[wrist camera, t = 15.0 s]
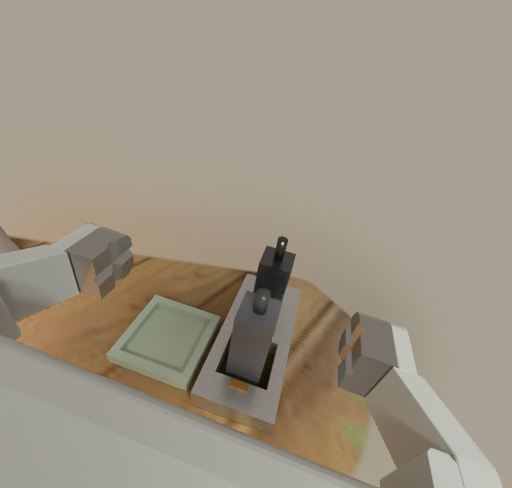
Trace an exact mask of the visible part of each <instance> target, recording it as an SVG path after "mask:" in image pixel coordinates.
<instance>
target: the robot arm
mask: <svg viewBox="0 0 512 488" xmlns="http://www.w3.org/2000/svg"><path fill="white" fill-rule="evenodd" d="M131 246H132V242H131V238H130V237H129V236H127V235H124V234H122V233H119V232H116V231H113V230H110V229H108V228H105V227H101V226H99V225H96V224H93V223H86V224H85V225H83V226H81V227H80V228H78V229H76V230H74V231H73V232H71V233H70V234H68V235H66V236H65V237H63V238H61V239H60V240H58V241H57V242H55V243H53V244H52V245H50V246H48V245H41V246H36V247H32V248H27V249H22V250H21V249H20V248H19V247H18V246H17V245H16V244H15V243H14V242H13V241H12V240H11V239H10V238H9V237H8V236H7V234H6V233H5V232H4V231H3V229H2V228H1V227H0V488H377V487H375V486H372V485H370V484H368V483H365V482H363V481H360V480H358V479H355V478H353V477H351V476H348V475H346V474H343V473H341V472H338V471H336V470H333V469H331V468H328V467H326V466H323V465H321V464H318V463H316V462H314V461H311V460H309V459H306V458H304V457H301V456H299V455H296V454H294V453H291V452H289V451H286V450H284V449H282V448H279V447H277V446H274V445H272V444H269V443H267V442H264V441H262V440H259V439H257V438H254V437H252V436H249V435H247V434H245V433H242V432H240V431H237V430H235V429H232V428H230V427H227V426H225V425H222V424H220V423H217V422H215V421H213V420H210V419H208V418H205V417H203V416H200V415H198V414H195V413H193V412H190V411H188V410H185V409H183V408H180V407H178V406H176V405H173V404H171V403H168V402H166V401H163V400H161V399H158V398H156V397H153V396H151V395H148V394H146V393H144V392H141V391H139V390H136V389H134V388H131V387H129V386H126V385H124V384H121V383H119V382H116V381H114V380H111V379H109V378H107V377H104V376H102V375H99V374H97V373H94V372H92V371H89V370H87V369H84V368H82V367H79V366H77V365H74V364H72V363H70V362H67V361H65V360H62V359H60V358H57V357H55V356H52V355H50V354H47V353H45V352H42V351H40V350H37V349H35V348H33V347H30V346H28V345H25V344H23V343H20V342H18V341H15V340H16V339H17V338H18V337H19V336H20V333H21V331H20V329H19V328H18V326H17V324H16V322H15V321H18V320H20V319H22V318H24V317H27V316H29V315H31V314H34V313H36V312H38V311H41V310H43V309H45V308H48V307H50V306H52V305H55V304H57V303H59V302H61V301H64V300H66V299H68V298H71V297H73V296H75V295H78V294H79V292H80V293H83V294H86V295H89V296H92V297H95V298H98V299H101V300H102V299H103V298H104V297H105V296H106V295H107V294H108V293H109V292H110V291H111V290H112V289H113V288H114V287H115V281H118V280H121V279H124V278H125V277H126V276H127V275H128V274H129V272H130V270H131V268H132V266H133V261H134V259H133V254H132V253H131V251H130V250H129V248H130V247H131ZM339 357H340V358H341V360H342V362H341V364H340V365H339V367H338V387H340V388H342V389H345V390H347V391H350V392H352V393H355V394H357V395H360V396H362V397H365V398H364V400H365V402H366V404H367V406H368V408H369V410H370V412H371V414H372V416H373V419H374V421H375V423H376V425H377V427H378V429H379V431H380V433H381V435H382V438H383V440H384V442H385V444H386V446H387V448H388V450H389V452H390V454H391V457H392V459H393V461H394V463H395V465H396V467H397V469H396V470H394V471H393V472H391V473H390V474H388V475H387V476H385V477H383V478H382V479H381V480H380V488H503V487H502V484H501V482H500V479H499V476H498V473H497V471H496V470H495V468H494V467H493V466H492V464H491V463H490V462H489V461H488V459H487V458H486V457H485V456H484V454H483V453H482V452H481V450H480V449H479V448H478V447H477V445H476V444H475V443H474V442H473V440H472V439H471V438H470V437H469V435H468V434H467V433H466V431H465V430H464V429H463V428H462V426H461V425H460V424H459V423H458V421H457V420H456V419H455V417H454V416H453V415H452V414H451V412H450V411H449V410H448V408H447V407H446V406H445V405H444V404H443V402H442V401H441V399H440V398H439V397H438V396H437V394H436V393H435V392H434V391H433V389H432V388H431V387H430V385H429V384H428V383H427V382H426V380H425V379H424V378H423V377H421V376H418V373H417V369H416V365H415V361H414V356H413V352H412V348H411V344H410V339H409V335H408V331H407V329H406V328H405V327H402V326H399V325H396V324H393V323H390V322H386V321H383V320H380V319H377V318H374V317H371V316H368V315H365V314H362V313H359V312H356V313H355V314H354V315H353V317H352V319H351V326H349V327H346V328H345V330H344V332H343V334H342V336H341V339H340V344H339Z"/></svg>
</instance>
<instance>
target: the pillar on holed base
mask: <svg viewBox="0 0 512 488" xmlns="http://www.w3.org/2000/svg"><path fill="white" fill-rule="evenodd" d="M287 243H288V239H287V238H285V237H279V238H278V242H277V246H276V248H273V247H269V246H267V247H266V249H265V251H264V254H263V256H262V258H261V260H260V263H259V267H258V271H257V276H254V275H251V274H247V275H246V277H245V279H244V281H243V283H242V286H241V288H240V290H239V292H238V294H237V296H236V298H235V300H234V302H233V304H232V307H231V309H230V311H229V313H228V315H227V317H226V319H225V321H224V323H223V325H222V328H221V330H220V332H219V334H218V336H217V338H216V340H215V342H214V344H213V346H212V349H211V351H210V353H209V355H208V357H207V359H206V361H205V363H204V365H203V367H202V370H201V372H200V374H199V376H198V378H197V380H196V382H195V384H194V386H193V388H192V391H191V393H190V404H191V405H194V406H197V407H199V408H202V409H204V410H207V411H209V412H212V413H215V414H217V415H220V416H222V417H225V418H227V419H230V420H233V421H235V422H238V423H240V424H243V425H246V426H248V427H251V428H253V429H256V430H258V431H261V432H264V433H266V434H269V435H270V433H271V431H272V429H273V426H274V424H275V419H276V414H277V409H278V404H279V399H280V394H281V389H282V384H283V379H284V374H285V369H286V364H287V359H288V354H289V349H290V344H291V339H292V334H293V329H294V324H295V319H296V314H297V309H298V304H299V299H300V294H301V290H299V289H296V288H293V287H290V286H287V284H288V280H289V277H290V274H291V270H292V267H293V262H294V259H295V255H296V254H293V253H290V252H286V251H285V250H286V246H287ZM259 288H266V289H268V290H269V291H270V292H271V296H270V298H272V299H275V300H279V301H282V306H281V309H280V313H279V317H278V321H277V324H276V328H275V332H274V335H273V338H272V342H271V345H270V348H269V351H268V354H271V355H274V359H273V363H272V367H271V371H270V375H269V379H268V383H267V387H266V390H265V389H262V388H259V387H257V386H254V385H251V384H248V383H246V382H243V381H240V380H238V379H235V378H232V377H229V376H227V375H224V374H221V373H218V372H219V369H220V367H221V364H222V362H223V360H224V357H225V355H226V352H227V350H228V348H229V345H230V342H231V336H232V330H233V324H234V318H235V316H236V314H237V311H238V309H239V307H240V305H241V302H242V300H243V298H244V295H245V293H246V291H250V292H253V293H256V292H257V290H258V289H259Z"/></svg>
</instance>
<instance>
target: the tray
mask: <svg viewBox="0 0 512 488" xmlns="http://www.w3.org/2000/svg"><path fill="white" fill-rule="evenodd" d="M220 318H221V316H218V315H215V314H212V313H209V312H206V311H203V310H200V309H197V308H194V307H191V306H188V305H185V304H182V303H179V302H176V301H173V300H170V299H167V298H164V297H161V296H158V295H155V296H154V297H153V298H152V299H151V301H150V302H149V303H148V304H147V305H146V307H145V308H144V309H143V310H142V311H141V313H140V314H139V315H138V316H137V317H136V319H135V320H134V321H133V322H132V323H131V325H130V326H129V327H128V328H127V329H126V331H125V332H124V333H123V334H122V335H121V337H120V338H119V339H118V340H117V341H116V343H115V344H114V345H113V346H112V347H111V349H110V350H109V351H108V352H107V353H106V356H107V360H108V362H111V363H113V364H116V365H118V366H121V367H124V368H126V369H129V370H132V371H134V372H137V373H139V374H142V375H145V376H147V377H150V378H153V379H155V380H158V381H160V382H163V383H166V384H168V385H171V386H173V387H176V388H179V389H181V390H184V391H187V389H188V387H189V385H190V383H191V381H192V379H193V377H194V375H195V373H196V371H197V369H198V367H199V365H200V363H201V361H202V359H203V357H204V355H205V353H206V350H207V348H208V346H209V344H210V342H211V340H212V338H213V336H214V334H215V332H216V330H217V328H218V326H219V324H220Z"/></svg>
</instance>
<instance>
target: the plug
mask: <svg viewBox="0 0 512 488" xmlns="http://www.w3.org/2000/svg"><path fill="white" fill-rule="evenodd" d="M270 296H271V292H270V291H269V290H268V289H266V288H259V289H258V290H257V292H256V293H253V292H250V291H246V293H245V295H244V298H243V300H242V302H241V305H240V307H239V309H238V311H237V314H236V316H235V318H234V324H233V330H232V336H231V342H230V348H229V354H228V360H227V366H226V372H225V375H227V376H229V377H232V378H235V379H238V380H240V381H243V382H246V383H248V384H251V385H254V386H258V383H259V380H260V377H261V373H262V370H263V367H264V364H265V361H266V357H267V354H268V351H269V348H270V345H271V342H272V338H273V335H274V332H275V328H276V324H277V321H278V317H279V313H280V309H281V306H282V301H279V300H275V299H272V298H270Z"/></svg>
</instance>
